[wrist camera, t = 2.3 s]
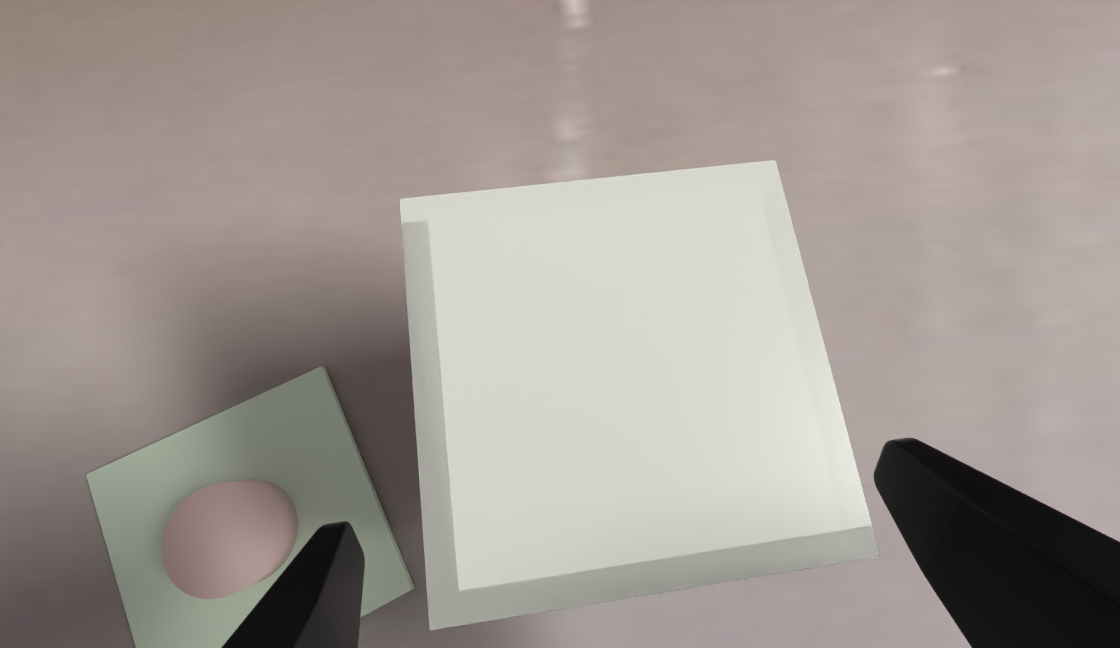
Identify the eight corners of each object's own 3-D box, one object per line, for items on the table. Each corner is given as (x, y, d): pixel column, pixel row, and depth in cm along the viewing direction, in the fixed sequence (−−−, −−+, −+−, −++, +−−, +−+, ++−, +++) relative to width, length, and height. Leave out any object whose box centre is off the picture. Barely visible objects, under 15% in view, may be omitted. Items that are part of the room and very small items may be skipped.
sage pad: (414, 587, 16) (412, 589, 16) (165, 721, 15) (158, 726, 15) (325, 367, 18) (321, 365, 18) (94, 473, 17) (85, 474, 17)
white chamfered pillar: (672, 492, 18) (880, 557, 7) (497, 518, 17) (429, 630, 6) (642, 324, 19) (775, 160, 8) (479, 344, 19) (399, 198, 8)
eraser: (236, 609, 16) (205, 625, 14) (174, 531, 16) (138, 539, 15) (319, 530, 17) (298, 538, 15) (256, 458, 17) (230, 459, 16)
